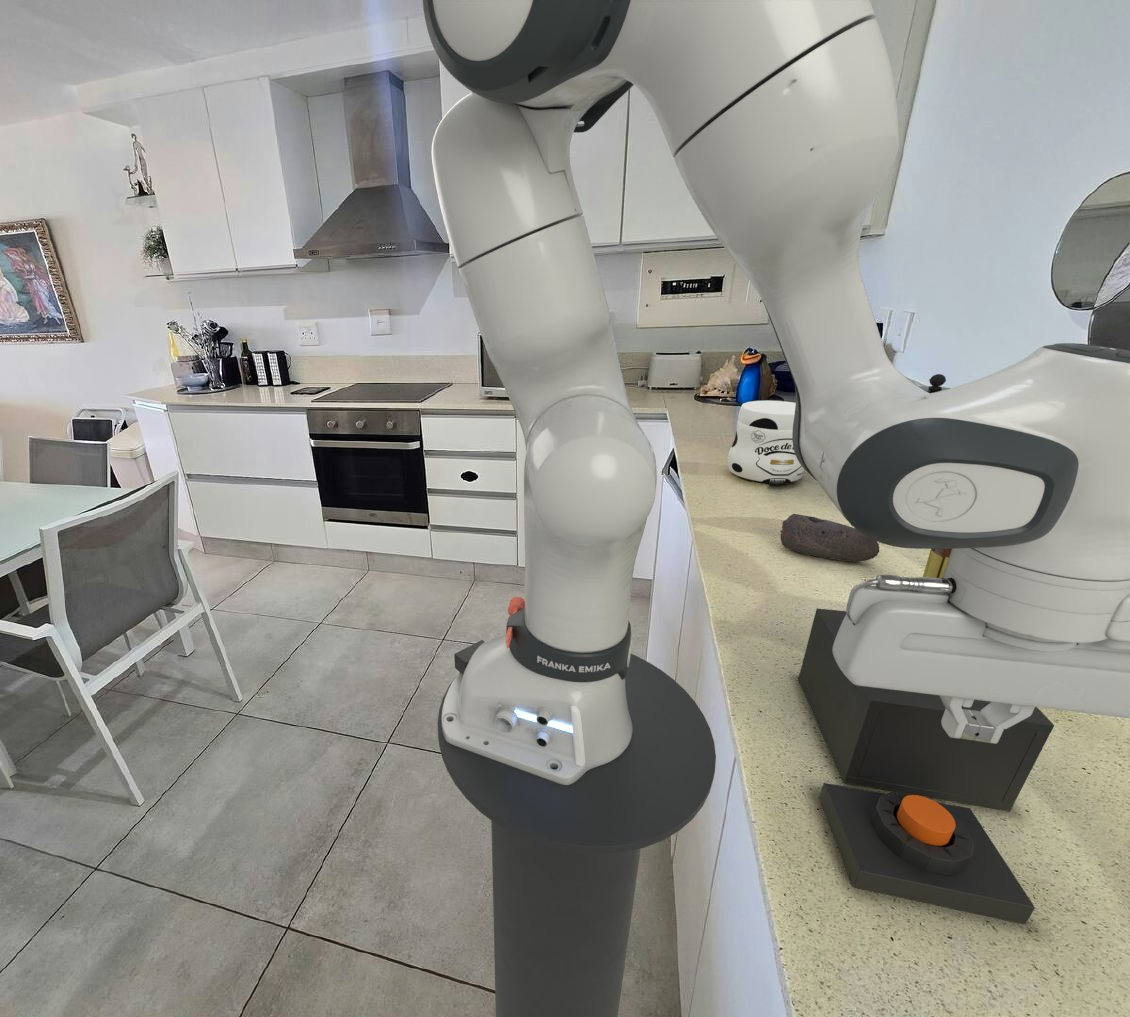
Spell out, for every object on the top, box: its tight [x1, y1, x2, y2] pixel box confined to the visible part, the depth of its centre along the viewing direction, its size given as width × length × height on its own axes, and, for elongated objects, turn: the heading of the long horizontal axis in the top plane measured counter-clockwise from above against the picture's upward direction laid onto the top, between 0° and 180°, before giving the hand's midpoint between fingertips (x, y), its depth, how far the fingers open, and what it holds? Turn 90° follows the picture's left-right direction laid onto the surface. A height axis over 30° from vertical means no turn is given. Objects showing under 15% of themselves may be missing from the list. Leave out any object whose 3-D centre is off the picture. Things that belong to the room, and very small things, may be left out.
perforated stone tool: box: [779, 513, 880, 563], centre depth 98 cm, size 15×5×7 cm, turn 54°
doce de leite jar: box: [727, 400, 806, 486], centre depth 133 cm, size 17×17×18 cm
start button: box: [897, 795, 956, 846], centre depth 47 cm, size 4×4×2 cm
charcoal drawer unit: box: [797, 607, 1055, 812], centre depth 59 cm, size 16×14×11 cm
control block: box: [818, 782, 1036, 925], centre depth 48 cm, size 12×9×4 cm
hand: (967, 734), depth 43 cm, fingers closed
